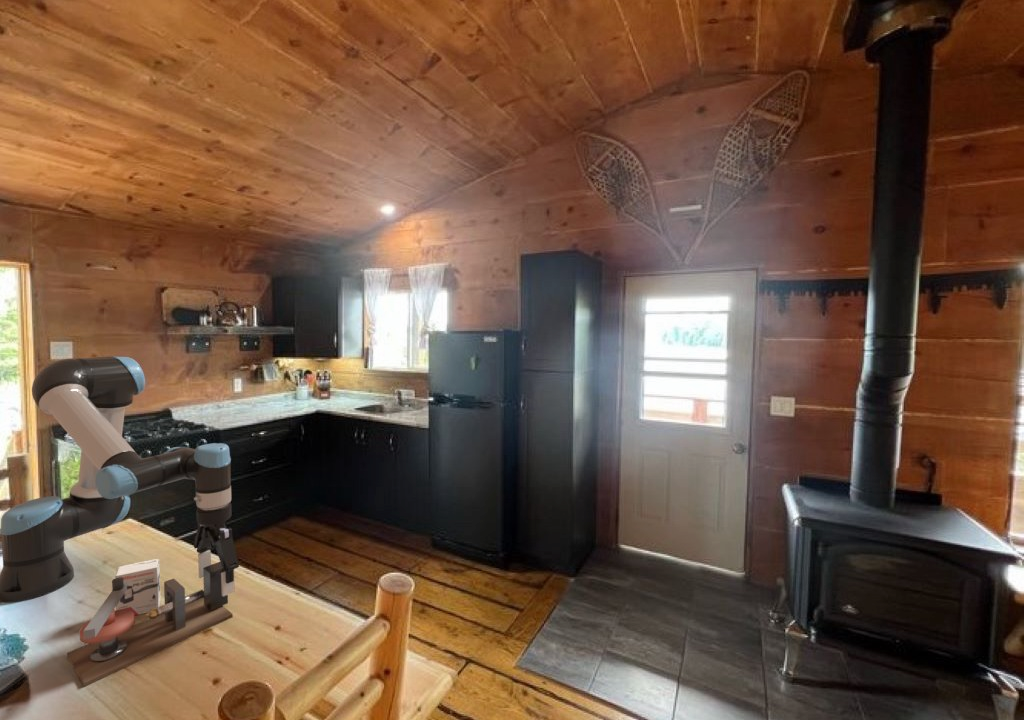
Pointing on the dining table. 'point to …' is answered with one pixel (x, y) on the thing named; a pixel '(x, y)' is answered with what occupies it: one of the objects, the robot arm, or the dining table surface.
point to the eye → (175, 603)
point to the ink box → (140, 586)
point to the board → (146, 641)
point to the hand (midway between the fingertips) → (216, 584)
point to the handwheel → (108, 617)
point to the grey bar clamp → (201, 592)
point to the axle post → (108, 650)
